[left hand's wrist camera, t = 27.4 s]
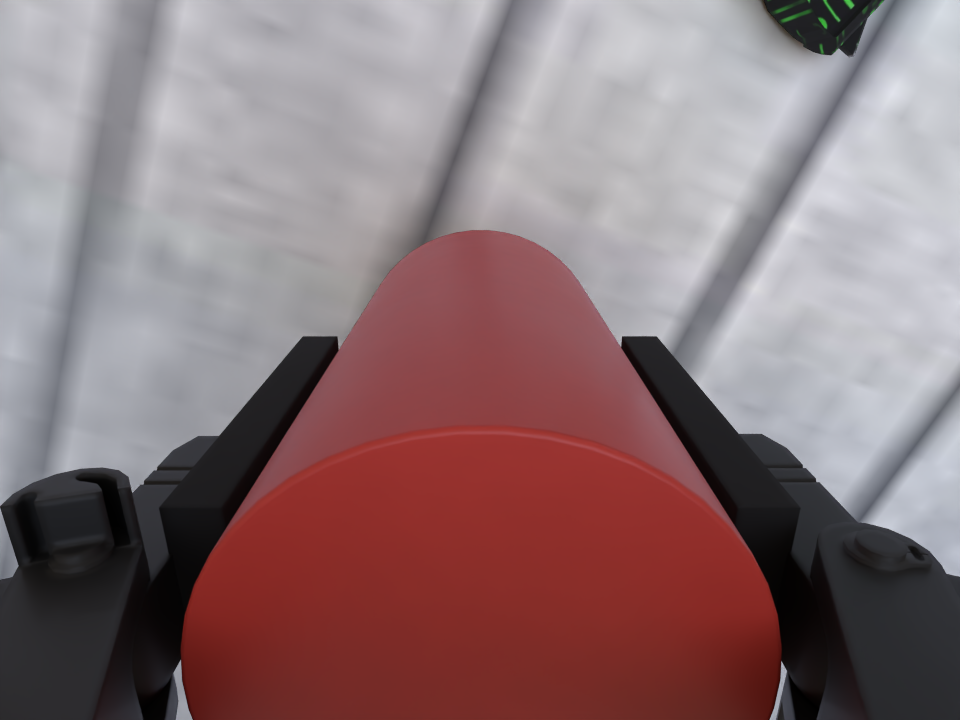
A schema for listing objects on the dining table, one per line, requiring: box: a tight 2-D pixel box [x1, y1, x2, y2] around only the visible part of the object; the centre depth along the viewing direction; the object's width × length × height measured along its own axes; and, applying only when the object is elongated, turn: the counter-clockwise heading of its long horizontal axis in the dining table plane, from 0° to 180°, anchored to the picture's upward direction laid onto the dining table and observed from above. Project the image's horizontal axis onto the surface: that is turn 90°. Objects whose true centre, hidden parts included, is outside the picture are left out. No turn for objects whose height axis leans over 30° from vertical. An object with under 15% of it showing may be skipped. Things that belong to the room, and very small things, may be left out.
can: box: [181, 230, 782, 720], centre depth 12 cm, size 6×6×11 cm
